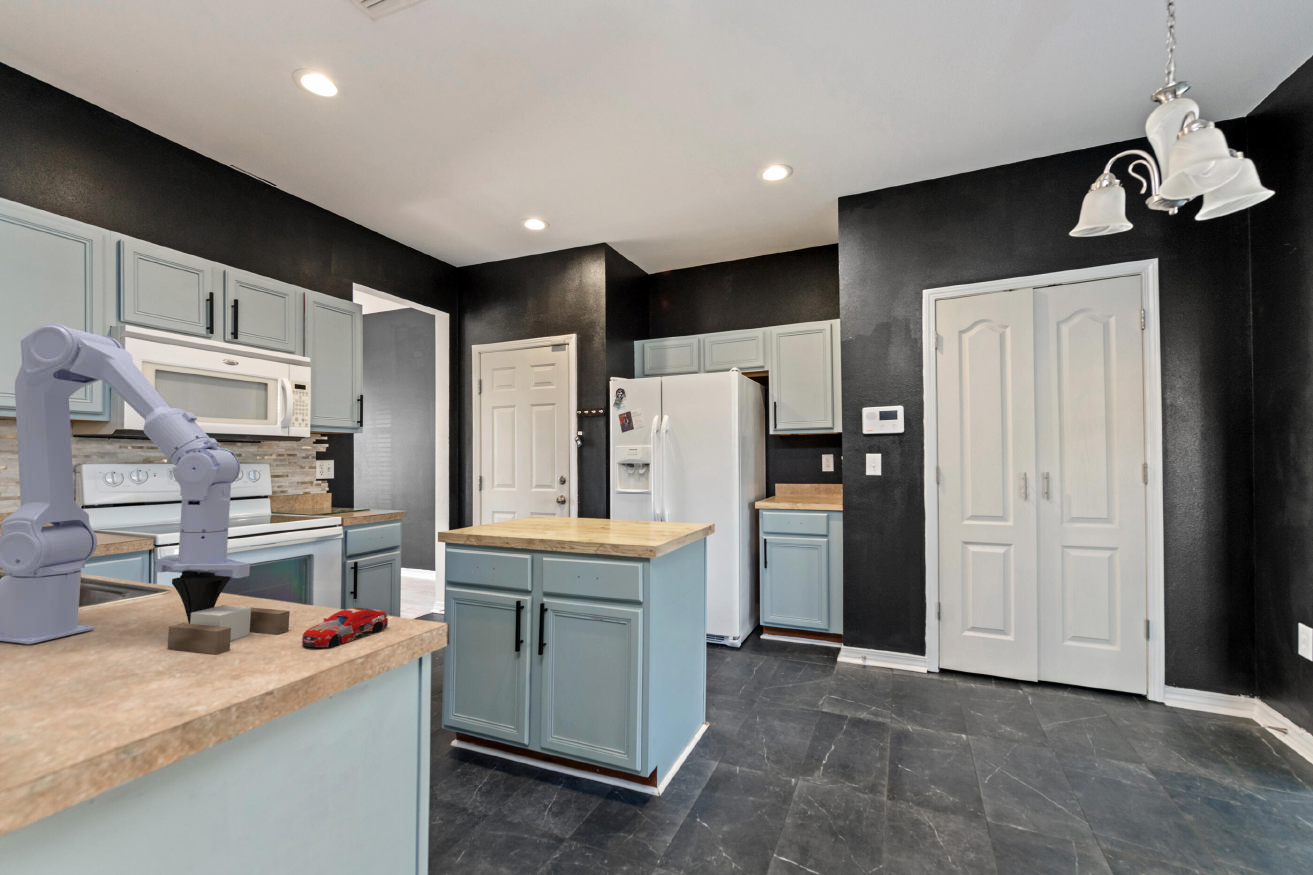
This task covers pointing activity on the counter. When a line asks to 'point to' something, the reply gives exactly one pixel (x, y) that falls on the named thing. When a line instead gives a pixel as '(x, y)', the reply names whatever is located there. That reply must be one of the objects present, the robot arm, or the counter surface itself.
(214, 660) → the counter surface
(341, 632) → the race car
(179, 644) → the parallel wooden rails
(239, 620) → the off-white block
